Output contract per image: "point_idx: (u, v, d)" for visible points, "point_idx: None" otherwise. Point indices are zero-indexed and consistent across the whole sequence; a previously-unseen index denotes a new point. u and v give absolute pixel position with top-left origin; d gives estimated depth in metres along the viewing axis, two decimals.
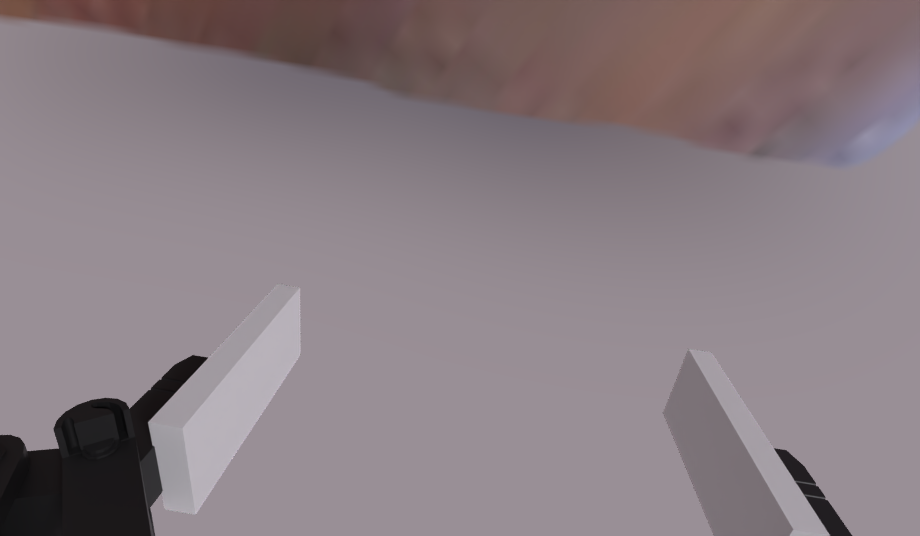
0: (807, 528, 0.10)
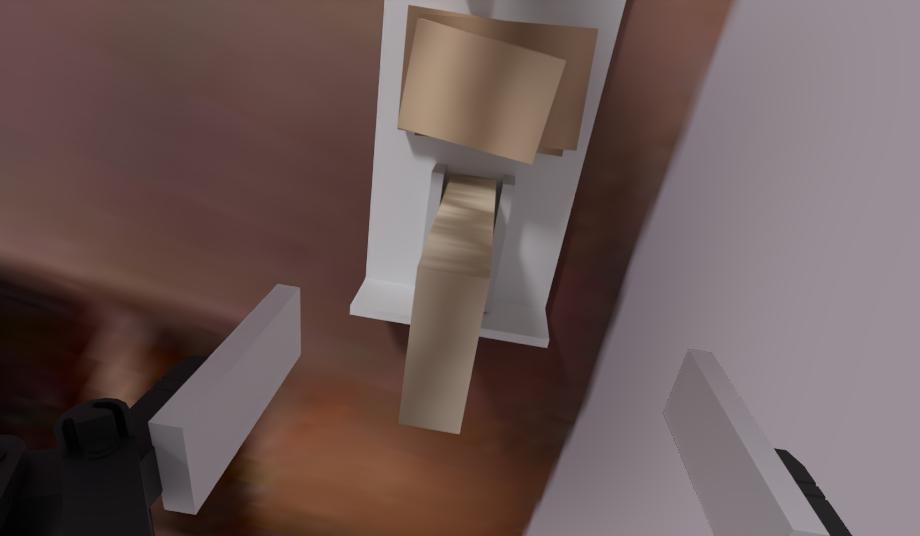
0: (807, 528, 0.10)
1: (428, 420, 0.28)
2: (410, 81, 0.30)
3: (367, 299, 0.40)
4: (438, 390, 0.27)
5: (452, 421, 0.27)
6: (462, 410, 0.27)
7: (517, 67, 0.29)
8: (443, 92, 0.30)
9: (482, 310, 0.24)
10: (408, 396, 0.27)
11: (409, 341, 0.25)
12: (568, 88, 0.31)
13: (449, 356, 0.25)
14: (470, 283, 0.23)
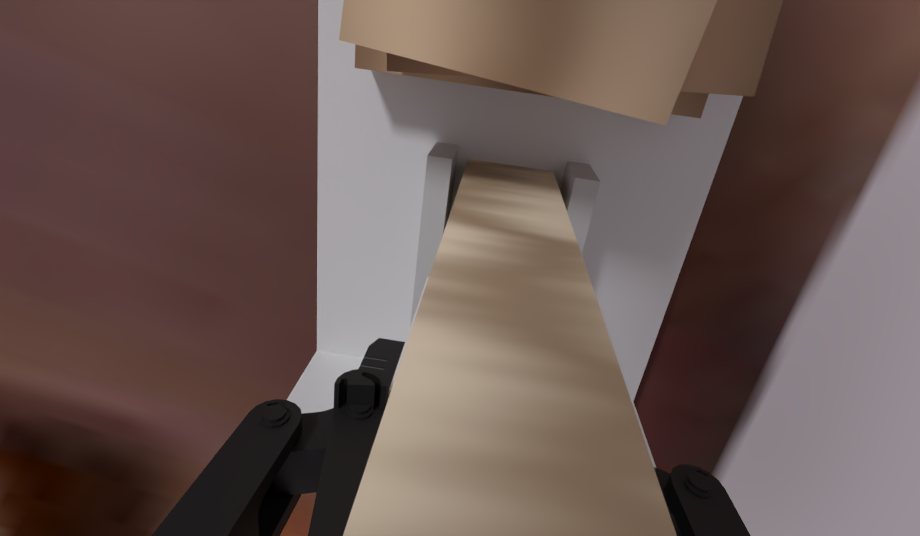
0: None
1: None
2: None
3: (312, 400, 0.22)
4: None
5: None
6: None
7: None
8: None
9: None
10: None
11: None
12: None
13: None
14: None
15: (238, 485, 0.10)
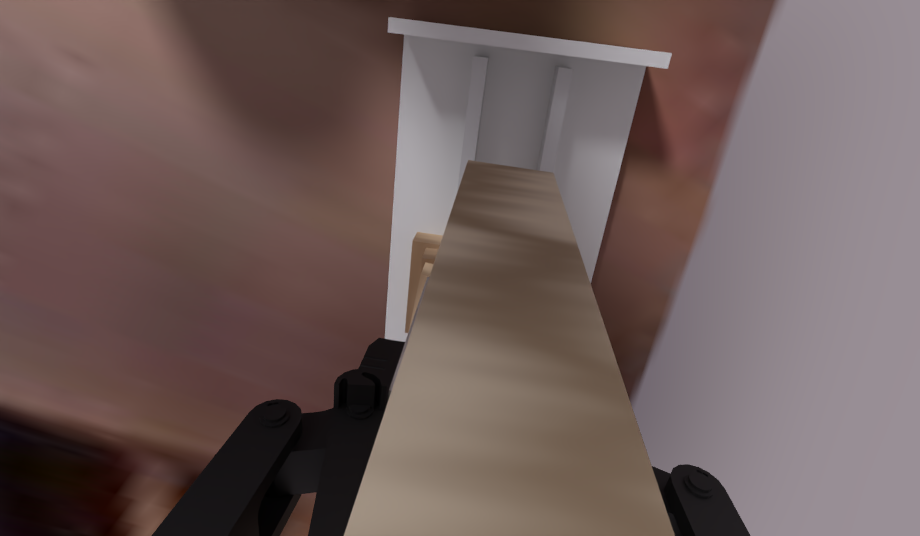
0: None
1: None
2: None
3: None
4: None
5: None
6: None
7: None
8: None
9: None
10: None
11: None
12: None
13: None
14: None
15: (238, 485, 0.10)
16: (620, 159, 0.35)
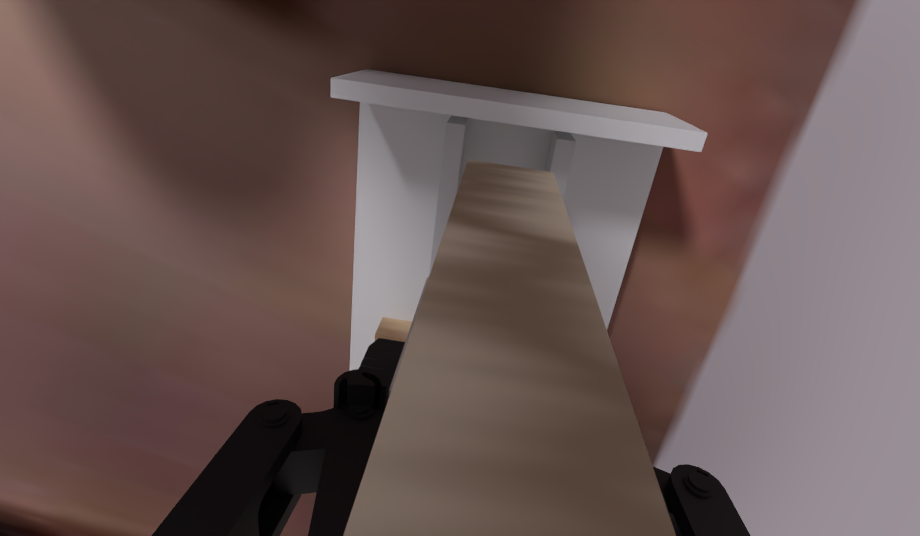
0: None
1: None
2: None
3: None
4: None
5: None
6: None
7: None
8: None
9: None
10: None
11: None
12: None
13: None
14: None
15: (238, 485, 0.10)
16: (631, 241, 0.28)
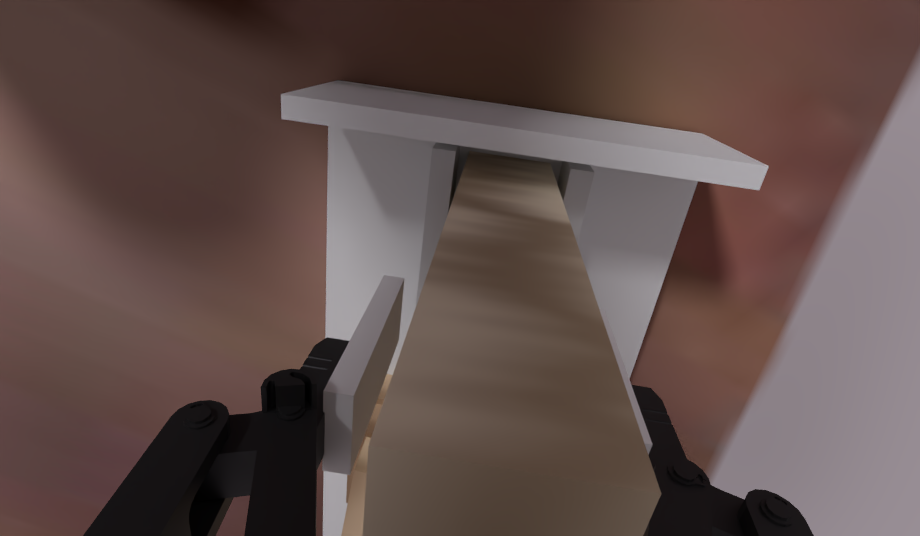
0: None
1: None
2: (349, 523, 0.23)
3: None
4: None
5: None
6: None
7: None
8: None
9: None
10: None
11: None
12: None
13: None
14: (577, 503, 0.06)
15: (164, 490, 0.09)
16: (658, 287, 0.23)
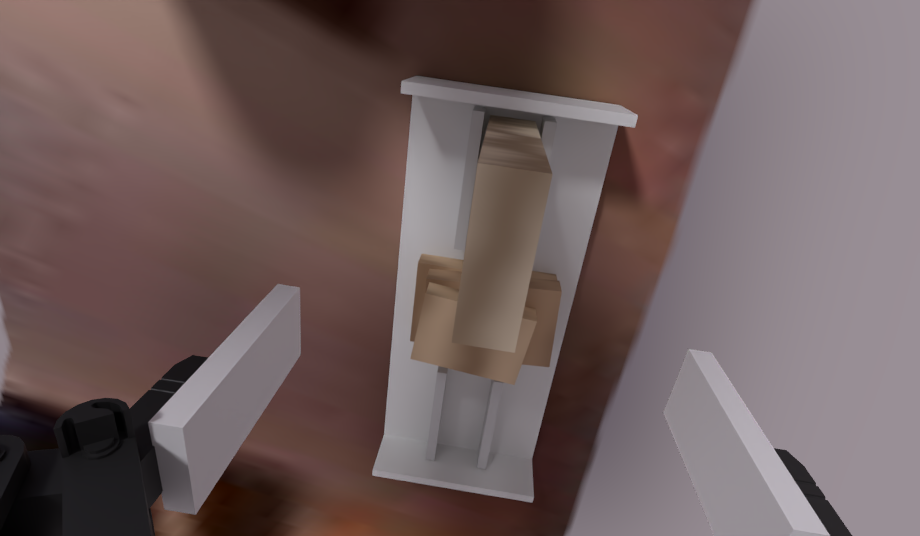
0: (807, 528, 0.10)
1: (482, 338, 0.27)
2: (420, 331, 0.40)
3: (386, 461, 0.50)
4: (494, 303, 0.26)
5: (508, 338, 0.27)
6: (518, 325, 0.26)
7: None
8: (445, 338, 0.40)
9: (543, 209, 0.23)
10: (463, 311, 0.26)
11: (466, 247, 0.25)
12: (540, 327, 0.41)
13: (507, 263, 0.25)
14: (531, 179, 0.23)
15: None
16: (598, 195, 0.40)
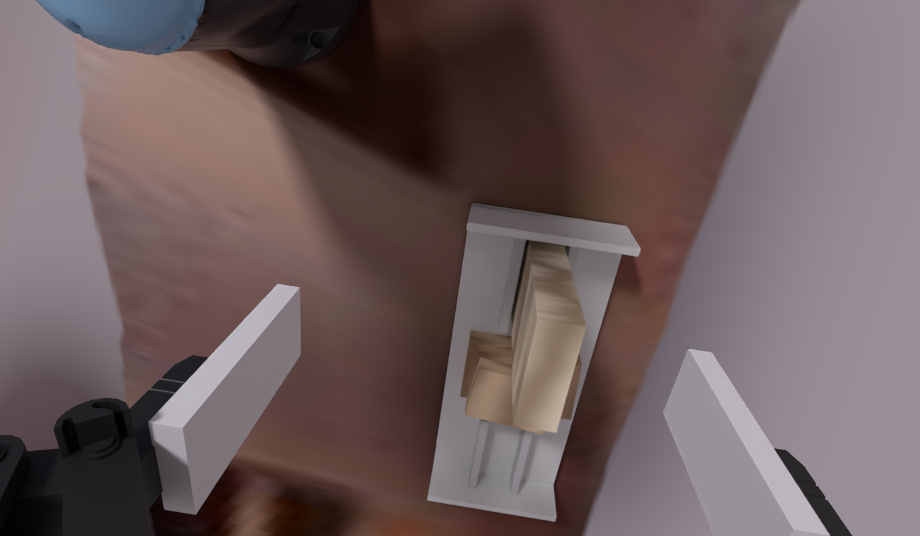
0: (807, 528, 0.10)
1: (534, 423, 0.39)
2: (473, 395, 0.52)
3: (437, 488, 0.62)
4: (543, 401, 0.38)
5: (552, 423, 0.39)
6: (559, 415, 0.38)
7: None
8: (492, 400, 0.52)
9: (579, 346, 0.36)
10: (521, 406, 0.38)
11: (526, 368, 0.37)
12: None
13: (554, 378, 0.37)
14: (572, 329, 0.35)
15: None
16: (609, 290, 0.52)
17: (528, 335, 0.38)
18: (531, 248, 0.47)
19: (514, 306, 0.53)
